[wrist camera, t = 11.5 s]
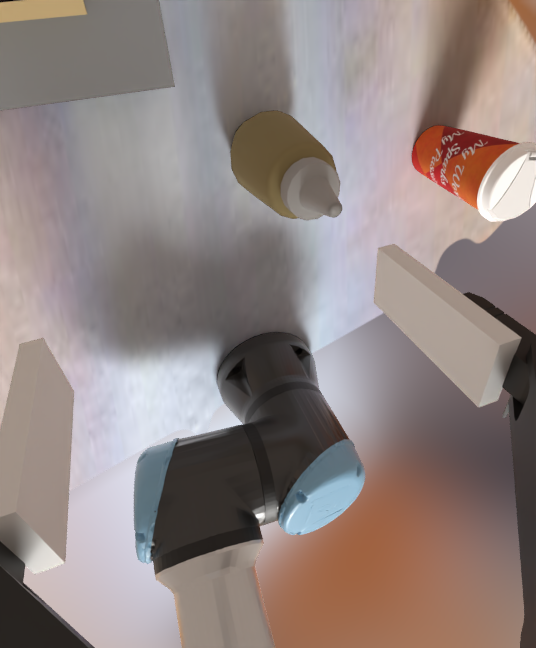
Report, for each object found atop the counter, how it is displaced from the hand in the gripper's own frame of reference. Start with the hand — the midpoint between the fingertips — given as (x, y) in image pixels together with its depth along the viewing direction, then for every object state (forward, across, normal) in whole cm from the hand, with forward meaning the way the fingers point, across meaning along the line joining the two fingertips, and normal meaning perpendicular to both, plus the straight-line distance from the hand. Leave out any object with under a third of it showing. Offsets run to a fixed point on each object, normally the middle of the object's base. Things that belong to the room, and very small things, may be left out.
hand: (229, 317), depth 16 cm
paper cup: (+31, -33, +7) cm, 46 cm away
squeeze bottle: (+31, -11, +2) cm, 33 cm away
